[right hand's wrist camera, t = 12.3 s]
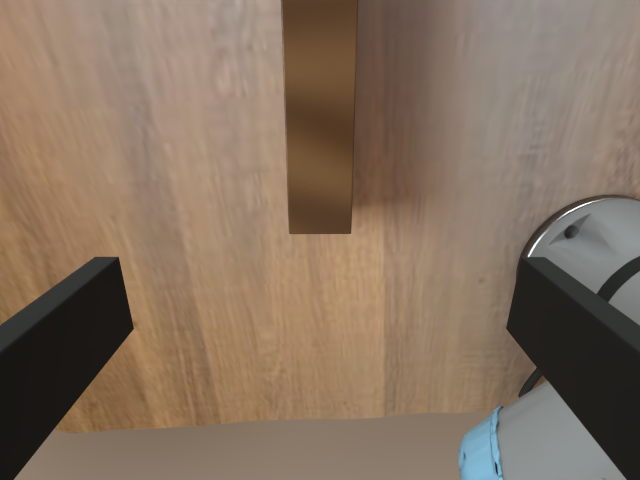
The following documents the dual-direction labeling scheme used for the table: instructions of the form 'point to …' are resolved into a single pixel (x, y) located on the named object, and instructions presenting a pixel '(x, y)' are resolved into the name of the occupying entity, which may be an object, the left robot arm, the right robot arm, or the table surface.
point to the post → (319, 112)
